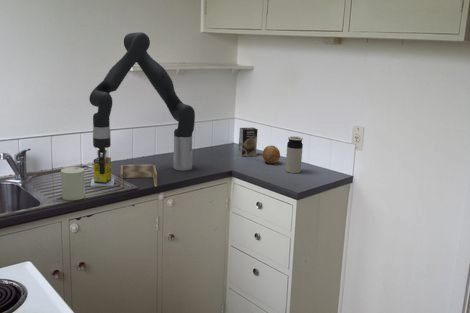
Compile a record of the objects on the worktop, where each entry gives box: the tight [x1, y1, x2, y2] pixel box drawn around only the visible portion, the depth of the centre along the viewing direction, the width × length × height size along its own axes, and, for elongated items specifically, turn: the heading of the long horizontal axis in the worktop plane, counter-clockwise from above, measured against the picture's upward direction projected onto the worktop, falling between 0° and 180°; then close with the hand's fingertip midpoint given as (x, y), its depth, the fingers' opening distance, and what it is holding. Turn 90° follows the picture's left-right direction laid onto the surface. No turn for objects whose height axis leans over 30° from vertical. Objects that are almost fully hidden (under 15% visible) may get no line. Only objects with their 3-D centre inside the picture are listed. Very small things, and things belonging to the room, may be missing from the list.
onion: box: [261, 145, 281, 164], centre depth 267 cm, size 10×10×10 cm
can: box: [60, 166, 86, 201], centre depth 199 cm, size 9×9×12 cm
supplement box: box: [93, 156, 112, 184], centre depth 219 cm, size 6×6×11 cm
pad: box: [90, 177, 115, 188], centre depth 220 cm, size 10×10×1 cm
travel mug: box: [285, 136, 304, 174], centre depth 252 cm, size 8×8×18 cm
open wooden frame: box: [120, 164, 158, 188], centre depth 224 cm, size 16×16×6 cm
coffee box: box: [237, 127, 258, 158], centre depth 281 cm, size 9×6×16 cm
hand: (102, 171), depth 219 cm, fingers open, 8 cm apart
